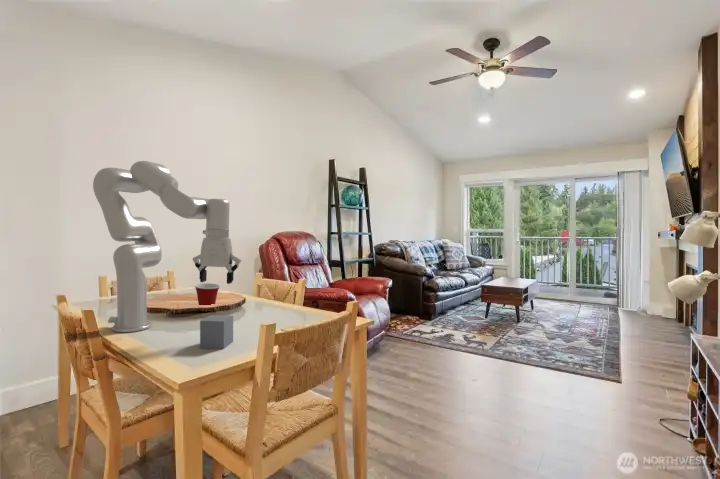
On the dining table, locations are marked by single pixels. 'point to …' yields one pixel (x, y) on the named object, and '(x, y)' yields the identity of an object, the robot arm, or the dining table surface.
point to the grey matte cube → (216, 331)
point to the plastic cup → (207, 293)
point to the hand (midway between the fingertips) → (216, 282)
